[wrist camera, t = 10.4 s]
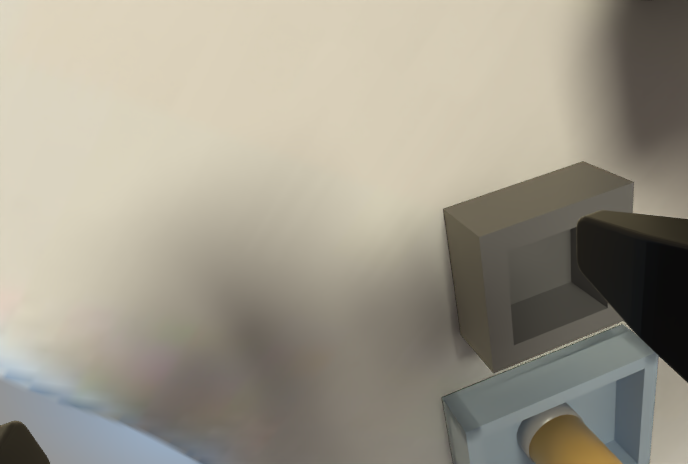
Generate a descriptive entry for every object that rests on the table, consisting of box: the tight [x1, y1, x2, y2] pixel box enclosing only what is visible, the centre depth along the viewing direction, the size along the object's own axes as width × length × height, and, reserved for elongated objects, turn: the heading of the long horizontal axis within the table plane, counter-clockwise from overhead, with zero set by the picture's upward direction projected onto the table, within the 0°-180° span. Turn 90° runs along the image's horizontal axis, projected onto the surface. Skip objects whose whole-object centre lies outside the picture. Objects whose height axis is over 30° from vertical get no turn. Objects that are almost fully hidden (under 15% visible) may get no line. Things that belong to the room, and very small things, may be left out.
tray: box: [442, 324, 659, 464], centre depth 29 cm, size 11×9×2 cm
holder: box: [444, 162, 634, 373], centre depth 24 cm, size 7×7×3 cm
